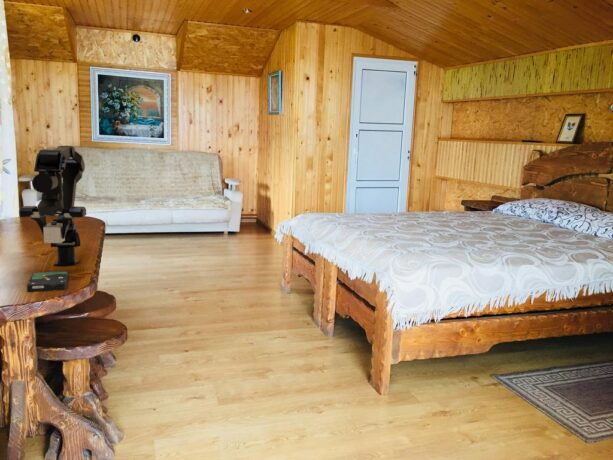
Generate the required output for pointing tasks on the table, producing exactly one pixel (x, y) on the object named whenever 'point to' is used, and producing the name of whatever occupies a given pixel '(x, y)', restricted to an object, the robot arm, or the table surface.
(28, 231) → the table surface
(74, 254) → the robot arm
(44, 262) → the table surface
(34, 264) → the table surface
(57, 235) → the housing
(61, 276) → the disk drive
